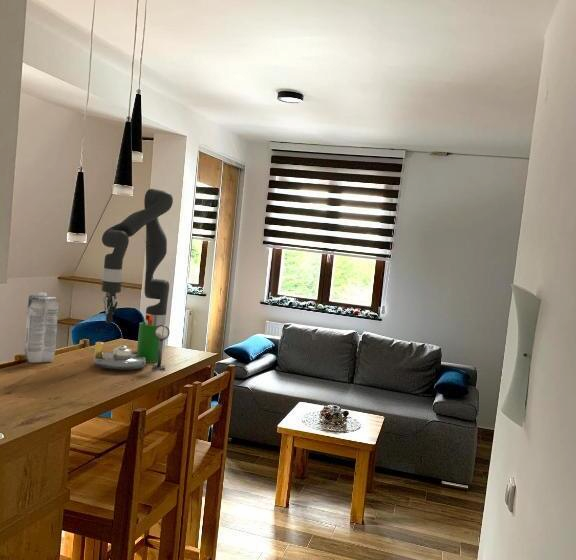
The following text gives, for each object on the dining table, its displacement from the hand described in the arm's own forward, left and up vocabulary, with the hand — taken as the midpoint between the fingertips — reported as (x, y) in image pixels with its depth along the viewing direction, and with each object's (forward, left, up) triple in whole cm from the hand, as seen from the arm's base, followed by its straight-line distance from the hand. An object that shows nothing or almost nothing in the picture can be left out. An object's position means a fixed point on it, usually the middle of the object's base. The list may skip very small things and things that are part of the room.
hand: (108, 322), depth 251 cm
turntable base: (0, +7, -17) cm, 18 cm away
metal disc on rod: (-11, +18, -17) cm, 27 cm away
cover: (0, +8, -13) cm, 15 cm away
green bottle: (-20, +5, -17) cm, 27 cm away
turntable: (0, +7, -15) cm, 17 cm away
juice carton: (+16, -20, -17) cm, 31 cm away
